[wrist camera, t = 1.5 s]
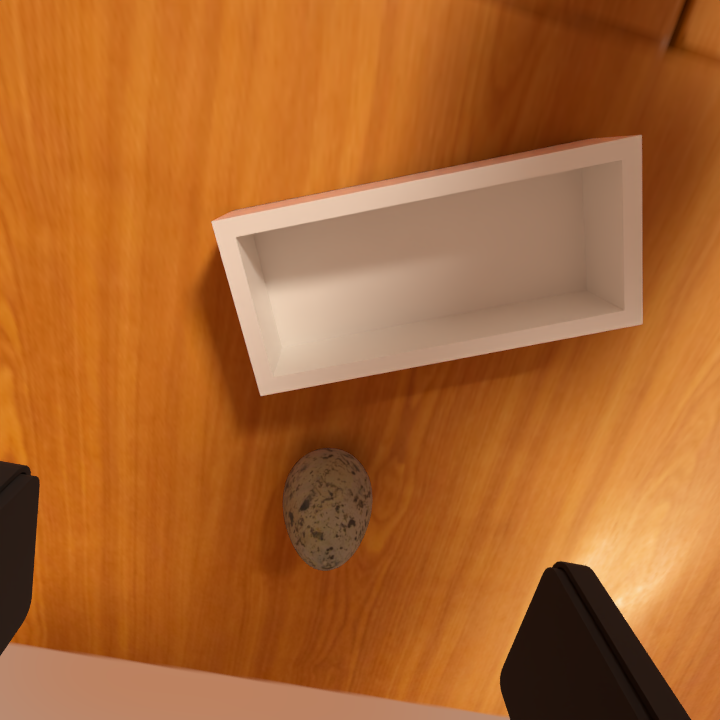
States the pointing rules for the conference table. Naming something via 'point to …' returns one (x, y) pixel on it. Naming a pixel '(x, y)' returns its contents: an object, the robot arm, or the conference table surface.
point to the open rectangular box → (439, 264)
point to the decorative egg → (327, 507)
